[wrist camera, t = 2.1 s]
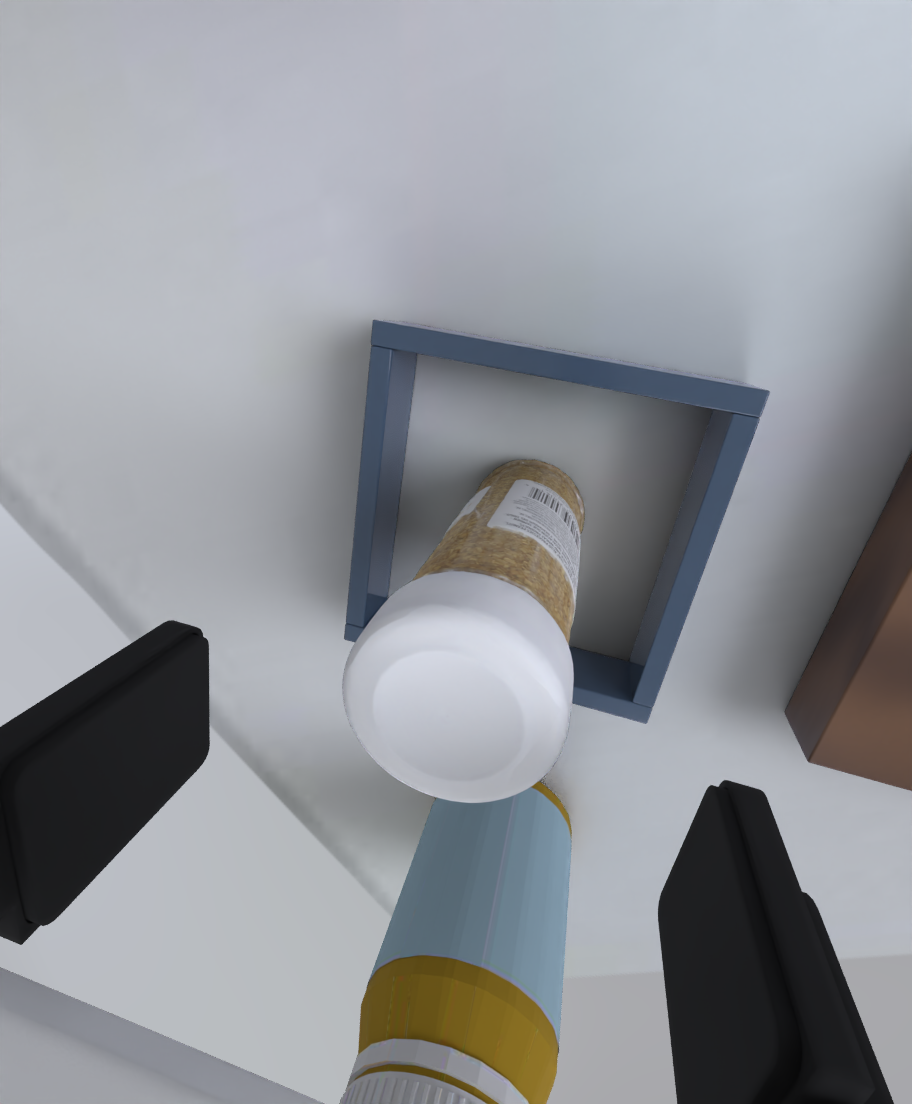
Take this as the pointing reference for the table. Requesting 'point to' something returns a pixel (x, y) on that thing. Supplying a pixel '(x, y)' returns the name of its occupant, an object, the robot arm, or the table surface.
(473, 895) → the bottle
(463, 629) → the sprinkles bottle
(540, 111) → the table surface
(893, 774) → the counter board
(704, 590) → the table surface
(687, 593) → the blue square frame
